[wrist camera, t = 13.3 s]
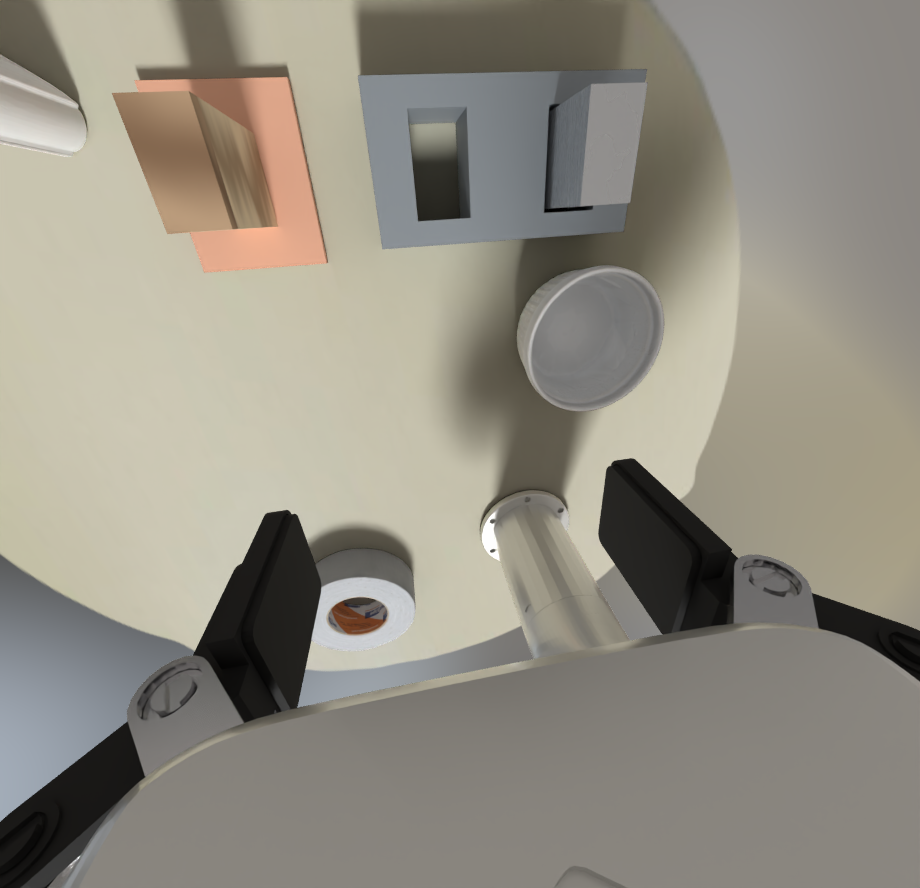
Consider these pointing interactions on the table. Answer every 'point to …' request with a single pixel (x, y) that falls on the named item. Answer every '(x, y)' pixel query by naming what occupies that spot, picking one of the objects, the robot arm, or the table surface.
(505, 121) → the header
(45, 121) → the photo printer
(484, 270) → the table surface
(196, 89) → the mat
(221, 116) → the beech plug
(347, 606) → the tape roll
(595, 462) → the table surface
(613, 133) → the steel plug
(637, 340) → the ramekin
